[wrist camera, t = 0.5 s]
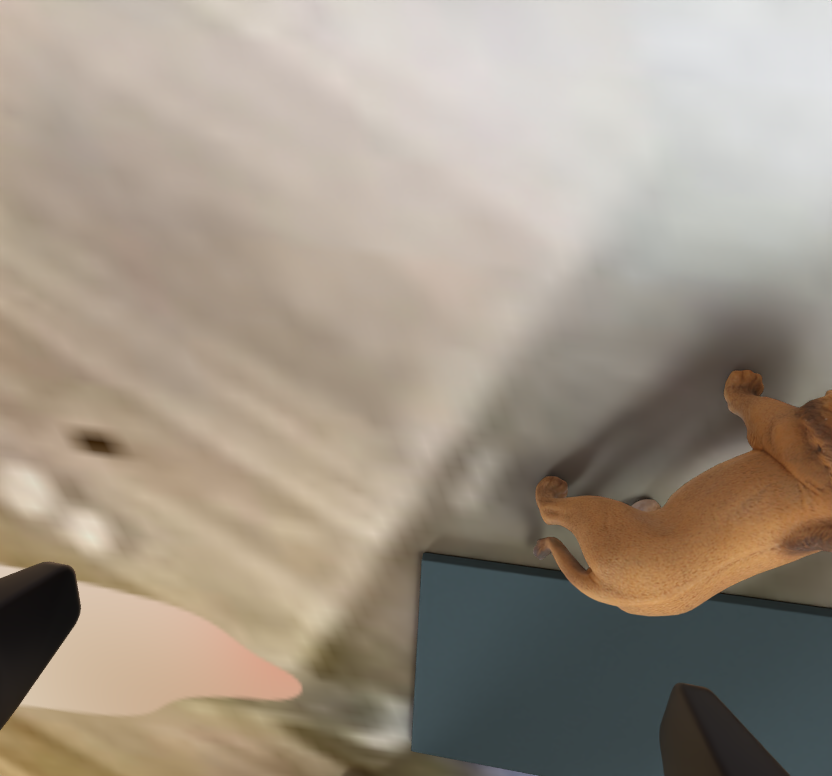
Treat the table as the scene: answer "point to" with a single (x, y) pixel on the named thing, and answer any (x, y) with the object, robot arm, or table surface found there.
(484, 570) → the dark teal mat
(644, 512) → the lion figurine
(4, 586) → the robot arm
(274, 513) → the table surface
